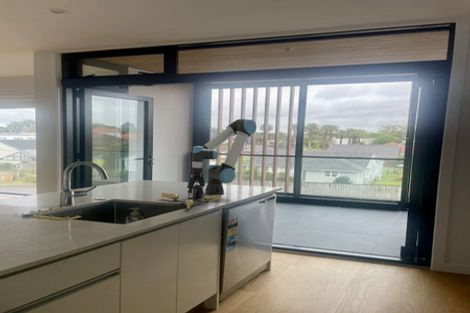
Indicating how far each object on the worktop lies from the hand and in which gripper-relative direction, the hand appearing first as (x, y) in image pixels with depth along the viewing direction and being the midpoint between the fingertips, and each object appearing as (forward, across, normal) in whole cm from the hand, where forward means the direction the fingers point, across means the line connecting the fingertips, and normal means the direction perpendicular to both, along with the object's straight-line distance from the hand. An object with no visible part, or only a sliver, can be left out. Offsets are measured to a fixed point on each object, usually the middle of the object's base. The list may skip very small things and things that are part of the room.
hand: (195, 196), depth 263 cm
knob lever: (+1, +18, -10) cm, 20 cm away
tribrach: (+1, +18, +7) cm, 19 cm away
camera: (+2, 0, 0) cm, 2 cm away
